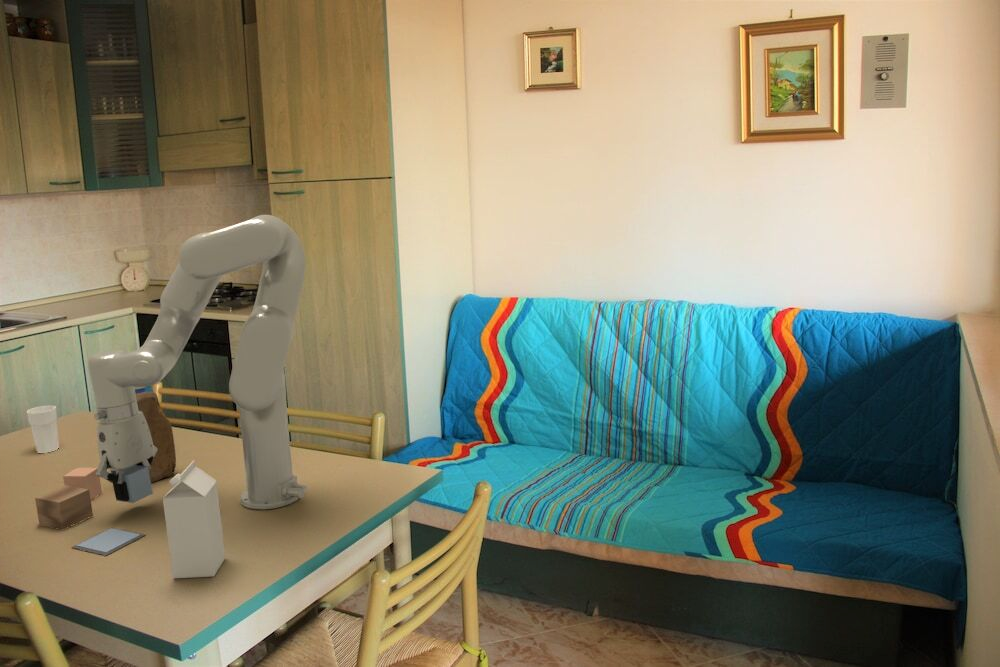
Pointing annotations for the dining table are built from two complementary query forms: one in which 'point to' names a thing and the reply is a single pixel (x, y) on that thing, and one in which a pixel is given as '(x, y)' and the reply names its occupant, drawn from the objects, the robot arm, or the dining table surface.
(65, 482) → the terracotta block
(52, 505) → the walnut block
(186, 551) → the milk carton
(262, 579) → the dining table surface
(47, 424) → the cup
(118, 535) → the swatch
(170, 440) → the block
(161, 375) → the robot arm
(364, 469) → the dining table surface
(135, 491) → the slate block
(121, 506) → the dining table surface
